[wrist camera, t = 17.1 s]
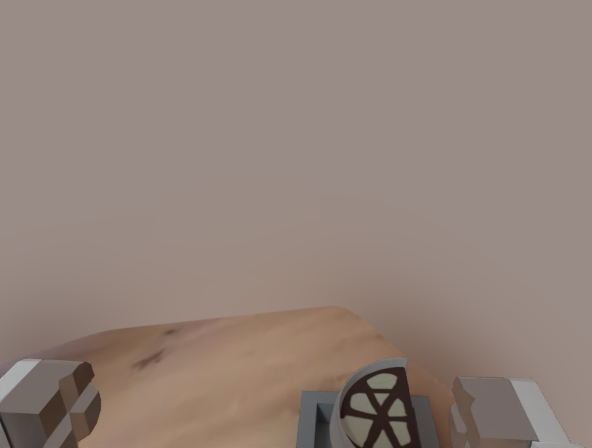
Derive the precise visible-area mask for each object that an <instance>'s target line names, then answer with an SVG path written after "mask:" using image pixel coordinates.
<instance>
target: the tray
mask: <svg viewBox="0 0 592 448" xmlns="http://www.w3.org/2000/svg"><path fill="white" fill-rule="evenodd" d="M338 394H339V392H323V391H302V399H301V407H300V416H299V425H298V434H297V443H296V448H332V444H331V440H330V421H331V416H332V412H333V409H334V405H335V402H336V399H337V396H338ZM410 398H411V403H412V407H413V412H414V416H415V422H416V428H417V435H418V441H419V447H420V448H440V446H439V441H438V437H437V433H436V429H435V425H434V421H433V417H432V412H431V408H430V404H429V400H428V396H413V395H410Z"/></svg>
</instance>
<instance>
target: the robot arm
mask: <svg viewBox="0 0 592 448" xmlns="http://www.w3.org/2000/svg"><path fill="white" fill-rule="evenodd" d="M94 376H95V375H94V372H93V369H92V366H91V364H89V363H87V362H81V361H65V360H50V359H45V360H42V359H28V358H26V359H23V360H20V361H18V362H17V363H16V364H15V365H14V366H13V367H12V368H11V369H10V370H9V371H8V372H7V373H6V374H5V375H4V376H3V377H2V378H1V379H0V448H79V447H78V442H79V441H81V440H82V439H84V438H85V437H87V436H88V435H90V434H91V432H92V430H93V429H94V427H95V425H96V424H97V421H98V418H99V414H100V411H101V398H100V394H99V391H98V390H97V389H96V388H95V387H94V386H93V385H92V384H91V381H92V379H93V378H94ZM452 391H453V394H454V398H455V401H456V402H455V403H454V404H453V405H452V406H451V407H450V416H449V430H450V438H451V444H452V448H584V447H583V446H582V445H580V444H572V443H571V442H570V440H569V438H568V436H567V435H566V433H565V431H564V429H563V428H562V426H561V424H560V423H559V421H558V419H557V417H556V416H555V414H554V412H553V410H552V409H551V407H550V405H549V404H548V402H547V400H546V398H545V397H544V395H543V393H542V391H541V390H540V388H539V386H538V385H537V383H536V381H534V380H533V379H532V378H509V377H506V378H495V377H463V376H456V378H455V380H454V384H453V390H452Z"/></svg>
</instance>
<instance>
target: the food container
mask: <svg viewBox="0 0 592 448" xmlns="http://www.w3.org/2000/svg"><path fill="white" fill-rule="evenodd" d="M406 366H407V357H405V358H389V359H384V360H380V361H376V362H373V363H371V364H368V365H366V366H364V367H363V368H361V369H359V370H358V371H356V372H355V373H354V374H353V375H352V376H351V377H350V378H349V379H348V380H347V381H346V383H345V384H344V386H343V387H342V389H341V391H340V392H339V394H338V396H337V399H336V402H335V405H334V409H333V412H332V416H331V421H330V440H331V444H332V448H420V447H419V441H418V435H417V428H416V422H415V416H414V412H413V407H412V403H411V398H410V393H409V387H408V382H407V377H406Z"/></svg>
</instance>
